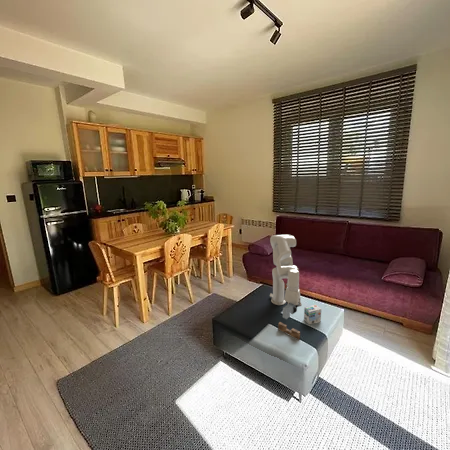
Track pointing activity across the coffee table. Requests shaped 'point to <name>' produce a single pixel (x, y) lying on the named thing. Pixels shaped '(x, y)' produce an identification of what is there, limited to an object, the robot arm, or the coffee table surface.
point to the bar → (288, 310)
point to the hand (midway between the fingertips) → (292, 311)
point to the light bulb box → (312, 314)
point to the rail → (291, 332)
